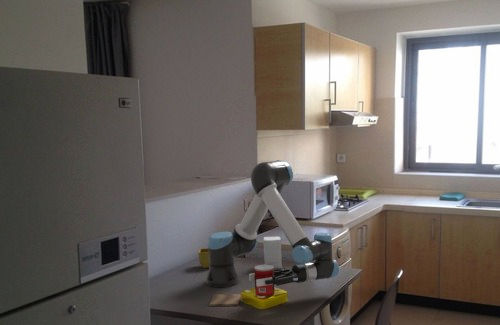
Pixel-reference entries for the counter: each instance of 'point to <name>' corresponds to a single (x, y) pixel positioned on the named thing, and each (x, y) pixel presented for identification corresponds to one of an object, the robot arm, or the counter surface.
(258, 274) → the canned food
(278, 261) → the supplement box
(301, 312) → the counter surface
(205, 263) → the flower pot
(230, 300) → the walnut trivet
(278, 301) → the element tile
